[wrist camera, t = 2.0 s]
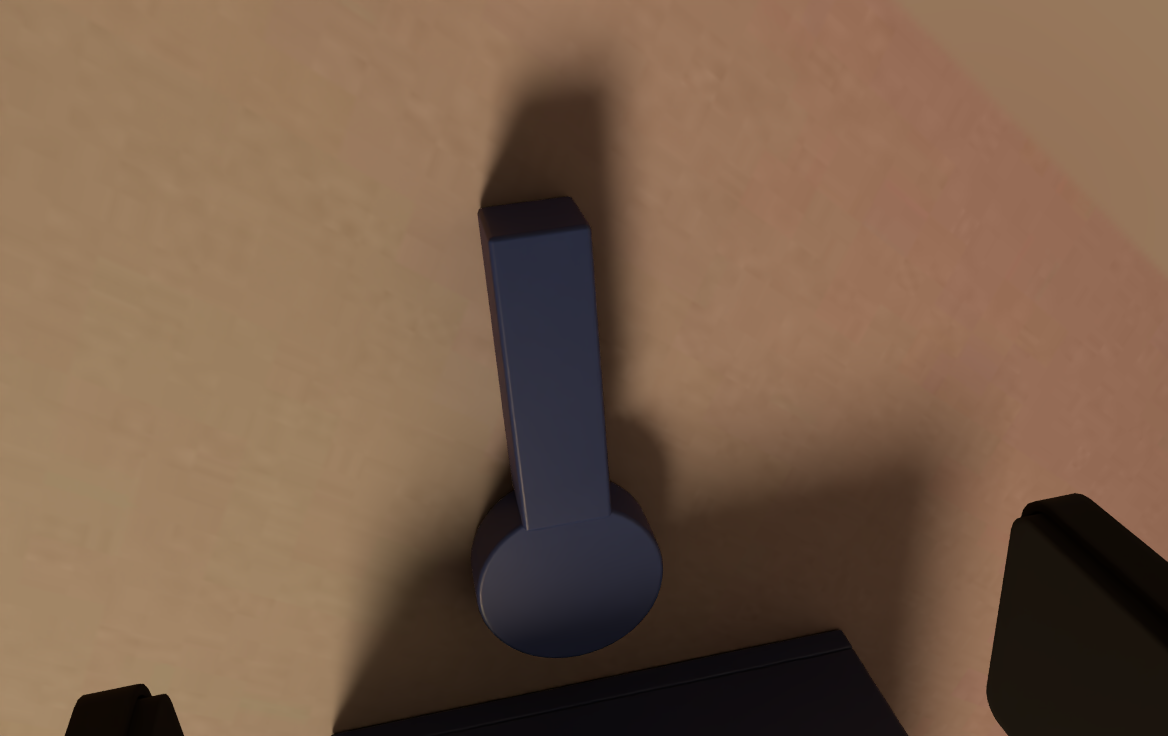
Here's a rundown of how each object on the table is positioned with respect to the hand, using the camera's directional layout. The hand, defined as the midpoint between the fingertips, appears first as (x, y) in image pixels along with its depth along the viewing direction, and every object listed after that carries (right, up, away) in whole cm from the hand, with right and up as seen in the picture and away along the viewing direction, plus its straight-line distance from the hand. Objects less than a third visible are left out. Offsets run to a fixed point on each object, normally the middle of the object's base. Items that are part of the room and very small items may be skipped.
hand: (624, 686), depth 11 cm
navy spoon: (-1, +2, +7) cm, 8 cm away
